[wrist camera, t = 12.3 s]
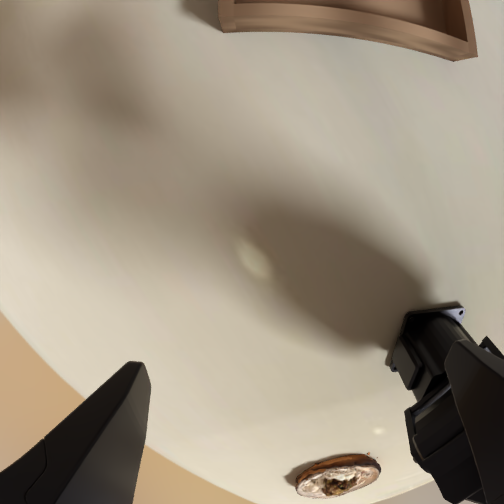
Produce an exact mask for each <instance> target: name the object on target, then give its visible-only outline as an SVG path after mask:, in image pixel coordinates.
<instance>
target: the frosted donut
mask: <svg viewBox="0 0 504 504" xmlns="http://www.w3.org/2000/svg"><path fill="white" fill-rule="evenodd" d="M369 453H370V452H369ZM369 453H368V455H370V454H369ZM377 458H378V457H377ZM315 464H316V463H315ZM380 472H381V467H380V465H379V464H378V463H377V461H376V460H374V459H371V458H369V457H367V456H366V455H365V454H361V455H348V456H343V457H339V458H335V459H331V460H328V461H325V462H322V463H320V464H316V465H314V466H313V467H311V468H309V469H307V470H305V471H304V472H303V473H302V474H300V475H299V476H297V478H296V483H298V484H297V485H296V491H297V493H298V494H299V495H301V496H305V497H309V498H313V499H314V498H324V499H326V498H333V497H337V496H341V495H344V494H346V493H349V492H352V491H354V490H357V489H360V488H362V487H365V486H367V485H369V484H371V483H372V482H374V481H376V480H377V478H378V477H379V474H380Z"/></svg>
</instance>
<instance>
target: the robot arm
mask: <svg viewBox="0 0 504 504" xmlns="http://www.w3.org/2000/svg"><path fill="white" fill-rule="evenodd" d="M464 314H465V308H464V307H463V306H454V307H446V308H438V309H430V310H421V311H411V312H409V313H407V314H406V316H405V319H404V322H403V326H402V329H401V333H400V336H399V337H398V340H397V343H396V346H395V350H394V353H393V356H392V361H391V364H390V369H391V371H392V372H397V371H398V372H399V374H400V376H401V378H402V380H403V383H404V385H405V387H406V389H407V390H412V391H413V394H414V396H415V398H416V400H417V403H416V404H414V405H413V406H412V407H409V408H408V409H406V410H405V411H404V413H405V421H406V427H407V432H408V438H409V444H410V451H411V455H412V456H413V460H414V462H415V463H418V464H419V465H420V467H421V468H422V469H423V470H424V471H426V472H427V473H430V474H431V475H432V477H433V478H434V480H435V481H436V483H437V485H438V487H439V489H440V491H441V493H442V496H443V498H444V499H445V500H447V501H449V502H450V503H452V504H458V503H460V502H462V501H463V500H468V501H471V502H474V503H478V504H504V355H503V354H502V353H501V352H500V351H499V350H498V348H497V347H496V346H495V345H494V344H493V343H492V341H491V340H490V339H489V338H488V337H487V336H486V337H485V338H484V339H483V340H482V343H481V344H480V345H479V346H478V345H477V343H476V342H475V341H474V340H473V338H472V337H471V336H470V335H469V334H468V332H467V331H466V330H465V329H464V327H463V326H462V325H461V322H462V319H463V317H464ZM411 317H412V318H411ZM410 318H411V319H410ZM150 394H151V383H150V379H149V376H148V373H147V370H146V367H145V365H144V363H143V362H137V361H129V362H127V363H126V364H125V365H124V366H122V367H121V368H120V369H119V370H118V371H117V372H116V373H115V374H114V375H112V376H111V377H110V378H109V379H108V380H107V381H106V382H105V383H104V384H103V385H101V386H100V387H99V388H98V389H97V390H96V391H95V392H94V393H93V394H91V395H90V396H89V397H88V398H87V399H86V400H85V401H84V402H83V403H82V404H81V405H79V406H78V407H77V408H76V409H75V410H74V411H73V412H71V413H70V414H69V415H68V416H67V417H66V418H65V419H64V420H63V421H62V422H60V423H59V424H58V425H57V426H56V427H55V428H54V429H53V430H52V431H50V432H49V433H48V434H47V435H46V436H45V437H44V439H41V440H40V441H39V442H38V443H37V444H36V445H35V446H34V447H32V448H31V449H30V450H29V451H28V452H27V453H25V454H24V455H23V456H22V457H21V458H19V459H18V460H17V461H15V462H14V463H13V464H11V465H10V466H9V467H7V468H6V469H4V470H3V471H2V472H0V504H132V503H133V497H134V492H135V487H136V482H137V477H138V472H139V467H140V462H141V458H142V453H143V448H144V444H145V439H146V431H147V421H148V412H149V403H150Z"/></svg>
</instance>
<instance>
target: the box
mask: <svg viewBox="0 0 504 504" xmlns="http://www.w3.org/2000/svg"><path fill="white" fill-rule="evenodd" d="M218 18H219V21H220V24H221V27H222V30H223V33H231V32H297V33H312V34H324V35H333V36H342V37H349V38H356V39H363V40H369V41H374V42H380V43H385V44H390V45H394V46H399V47H403V48H407V49H412V50H415V51H419V52H423V53H427V54H430V55H434V56H437V57H440V58H444V59H447V60H450V61H453V62H454V61H459V60H464V59H469V58H474V57H478V54H477V46H476V38H475V32H474V26H473V20H472V15H471V10H470V5H469V1H468V0H218Z"/></svg>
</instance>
